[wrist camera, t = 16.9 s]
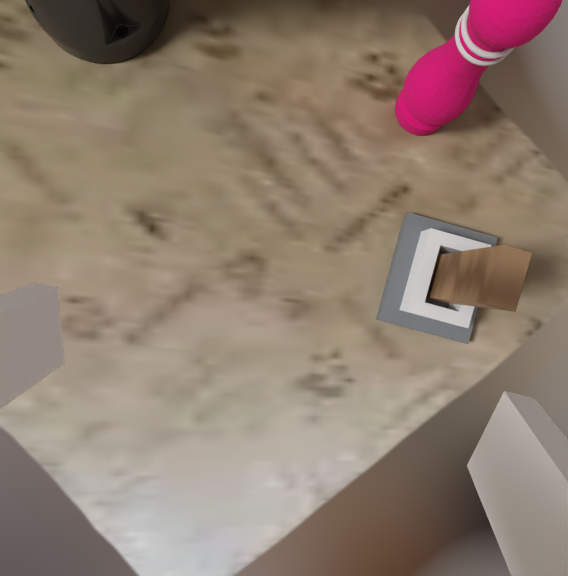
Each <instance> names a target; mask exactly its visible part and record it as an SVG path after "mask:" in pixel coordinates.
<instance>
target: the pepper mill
mask: <svg viewBox="0 0 568 576" xmlns="http://www.w3.org/2000/svg"><path fill="white" fill-rule="evenodd" d="M561 2H562V0H470V5H469V6H468V7H467V9H466V10H465V12H464V13H463V14H462V16H461V17H460V19H459V21H458V23H457V26H456V30H455V35H454V36H453V37H452V38H451V39H450V40H449V41H448V42H446V43H445V44H443V45H441V46H439V47H437V48H435V49H433V50H431V51H429V52H428V53H426V54H425V55H424V56H423V57H421V58H420V59H419V60H418V61H417V62H416V64H415V65H414V66H413V67H412V68H411V70H410V71H409V73H408V75H407V77H406V79H405V83H404V88H403V90H402V91H401V93H400V94H399V96H398V98H397V101H396V105H395V112H396V117H397V119H398V122H399V123H400V125H401V126H402V127H403V128H404V129H405V130H406V131H408V132H409V133H412V134H415V135H428V134H431V133H433V132H435V131H436V130H438V129H439V128H440V127H441V126H442V125H443V124H446V123H449V122H451V121H453V120H454V119H456V118H457V117H458V116H460V115H461V114H462V112H463V111H464V110H465V109H466V108H467V107H468V106H469V104H470V103H471V101H472V99H473V97H474V95H475V93H476V90H477V87H478V84H479V80H480V77H481V75H482V73H483V72H484V71H485V69H486V68H487V67H488V66H489V65H493V64H496V63H498V62H500V61H501V60H503V59H504V58H505V57H506V56H507V55H508V53H510V52H511V51H512V50H513V49H514V48H515V47H517V46H520V45H523V44H525V43H527V42H529V41H531V40H532V39H533V38H534V37H535V36H537V35H538V34H539V33H540V32H541V31H543V29H544V28H545V27H546V26H547V25H548V24H549V23H550V21H551V20H552V19H553V18H554V16H555V14H556V13H557V11H558V8H559V7H560V5H561Z"/></svg>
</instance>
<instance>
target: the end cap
mask: <svg viewBox="0 0 568 576" xmlns="http://www.w3.org/2000/svg"><path fill="white" fill-rule="evenodd" d="M497 239H498V237H494V236H491V235H487V234H483V233H480V232H476V231H473V230H469V229H466V228H462V227H459V226H455V225H452V224H448V223H445V222H441V221H437V220H434V219H430V218H427V217H423V216H420V215H416V214H413V213H407V214H405V215H404V219H403V223H402V226H401V230H400V234H399V237H398V241H397V245H396V248H395V252H394V256H393V259H392V263H391V266H390V270H389V274H388V277H387V281H386V285H385V288H384V292H383V296H382V299H381V303H380V307H379V310H378V314H377V318H376V319H378V320H381V321H384V322H388V323H392V324H396V325H399V326H403V327H407V328H410V329H414V330H418V331H421V332H425V333H429V334H433V335H436V336H440V337H444V338H447V339H451V340H455V341H459V342H462V343H466V344H468V343H469V340H470V336H471V332H472V329H473V325H474V322H475V318H476V314H477V311H478V307H475V306H467V305H459V304H451V303H443V302H439V301H436V300H432V299H428V298H426V296H427V292H428V288H429V285H430V281H431V277H432V274H433V270H434V266H435V263H436V259H437V256H438V255H442V254H448V253H454V252H461V251H467V250H473V249H479V248H486V247H492V246H496V242H497Z"/></svg>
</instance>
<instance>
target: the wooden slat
mask: <svg viewBox="0 0 568 576" xmlns="http://www.w3.org/2000/svg"><path fill="white" fill-rule="evenodd" d="M531 255H532V253H531V252H528V251H524V250H520V249H517V248H513V247H510V246H506V245H498V246H492V247H486V248H479V249H473V250H467V251H461V252H454V253H448V254H442V255H438V256H437V259H436V263H435V266H434V270H433V274H432V277H431V281H430V285H429V288H428V292H427V296H426V298H428V299H432V300H436V301H439V302H443V303H451V304H459V305H467V306H475V307H483V308H491V309H499V310H507V311H515V312H516V309H517V305H518V302H519V298H520V294H521V291H522V287H523V284H524V280H525V276H526V273H527V269H528V266H529V262H530V258H531Z"/></svg>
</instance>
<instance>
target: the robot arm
mask: <svg viewBox="0 0 568 576" xmlns="http://www.w3.org/2000/svg"><path fill="white" fill-rule="evenodd" d="M25 1H26V3H27V5H28V8H29V10H30V12H31V13H32V15H33V17H34V18H35V19H36V21H37V22H38V24H39V25H40V26H41V27H42V29H43V30H44V31H45V32H46V33H47V34H48V35H49V36H50V37H51V38H52V40H53V41H54V42H55V43H56V44H57V45H58V46H60V47H61V48H62V49H63V50H65V51H66V52H68V53H69V54H71V55H73V56H75V57H77V58H80V59H82V60H85V61H89V62H95V63H114V62H119V61H123V60H126V59H129V58H131V57H133V56H135V55H137V54H139V53H140V52H142V51H143V50H144V49H146V48H147V47H148V46H149V45H150V44H151V43H152V42H153V41H154V40H155V38H156V37H157V36H158V34H159V33H160V31H161V29H162V27H163V25H164V23H165V20H166V17H167V13H168V7H169V0H25ZM64 363H65V361H64V350H63V338H62V327H61V316H60V304H59V293H58V287H55V286H50V285H46V284H42V283H37V282H34V283H31V284H29V285H26V286H24V287H21V288H19V289H16V290H13V291H11V292H8V293H6V294H3V295H1V296H0V409H1V408H3V407H4V406H6V405H7V404H8V403H10V402H11V401H13V400H14V399H15V398H17V397H18V396H19V395H21V394H22V393H24V392H25V391H26V390H28V389H29V388H31V387H32V386H33V385H35V384H36V383H38V382H39V381H40V380H42V379H43V378H44V377H46V376H47V375H49V374H50V373H51V372H53V371H54V370H56V369H57V368H58V367H60V366H61V365H63V364H64ZM467 467H468V469H469V472H470V474H471V477H472V479H473V482H474V484H475V487H476V489H477V492H478V494H479V497H480V499H481V502H482V504H483V507H484V509H485V511H486V514H487V516H488V519H489V521H490V524H491V526H492V529H493V531H494V533H495V536H496V539H497V541H498V544H499V546H500V549H501V551H502V554H503V556H504V558H505V561H506V564H507V566H508V568H509V571H510V573H511V576H568V440H567V439H566V437H565V436H564V435H563V434H562V433H561V431H560V430H559V429H558V427H557V426H556V425H555V424H554V422H553V421H552V420H551V419H550V417H549V416H548V415H547V414H546V413H545V411H544V410H543V409H542V408H541V406H540V405H539V404H538V403H537V401H536V400H535V399H534V398H531V397H527V396H523V395H518V394H514V393H510V392H506V391H504V393H503V395H502V397H501V399H500V401H499V403H498V405H497V407H496V409H495V411H494V413H493V415H492V417H491V419H490V421H489V423H488V425H487V427H486V429H485V431H484V433H483V435H482V437H481V439H480V441H479V443H478V445H477V447H476V449H475V451H474V453H473V455H472V457H471V459H470V461H469V463H468V465H467Z"/></svg>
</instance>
